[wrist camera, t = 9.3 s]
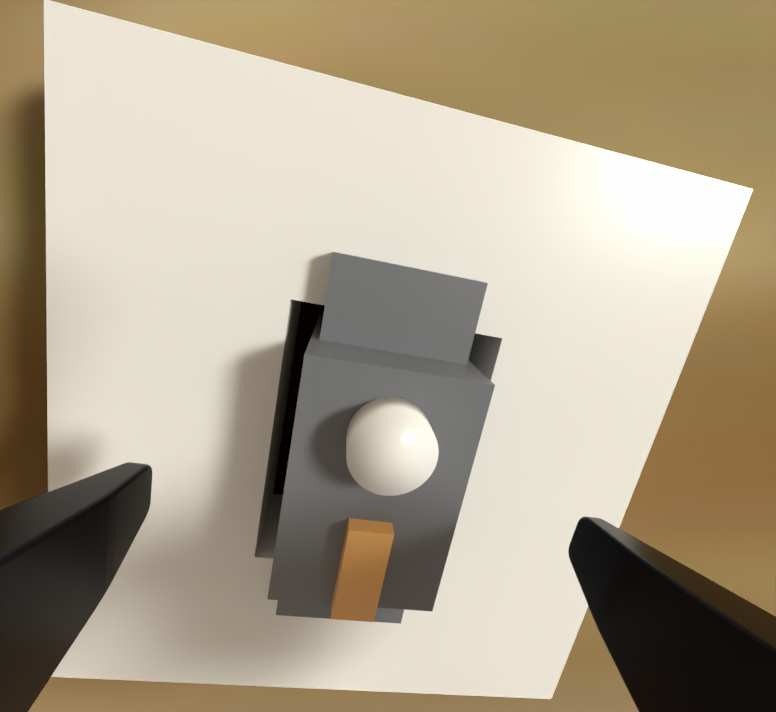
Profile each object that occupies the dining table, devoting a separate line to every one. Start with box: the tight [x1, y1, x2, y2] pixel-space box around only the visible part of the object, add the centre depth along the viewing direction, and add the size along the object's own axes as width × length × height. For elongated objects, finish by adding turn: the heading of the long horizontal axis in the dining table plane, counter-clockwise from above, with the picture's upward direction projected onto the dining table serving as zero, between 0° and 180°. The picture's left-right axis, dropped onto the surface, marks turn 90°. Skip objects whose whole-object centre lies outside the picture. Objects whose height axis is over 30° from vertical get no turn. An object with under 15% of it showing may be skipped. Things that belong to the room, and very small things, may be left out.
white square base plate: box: [44, 0, 753, 699], centre depth 12 cm, size 17×16×3 cm
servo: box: [267, 252, 495, 624], centre depth 11 cm, size 10×4×6 cm, turn 169°
